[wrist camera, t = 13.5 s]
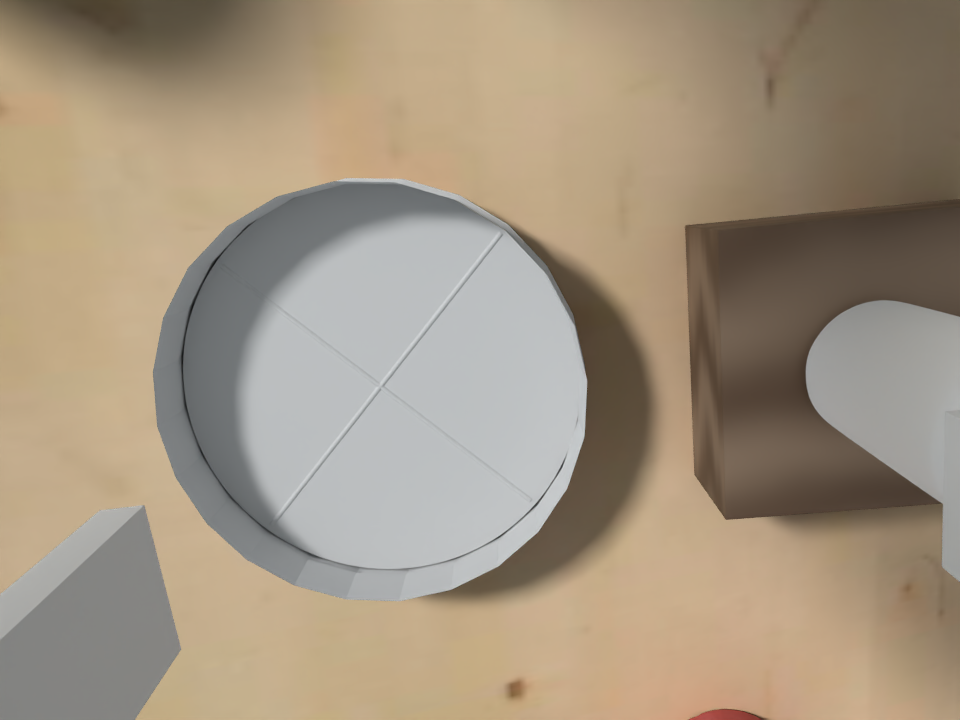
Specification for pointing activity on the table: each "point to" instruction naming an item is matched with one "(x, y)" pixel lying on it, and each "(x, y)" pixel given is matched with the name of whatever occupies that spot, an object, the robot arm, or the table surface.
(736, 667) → the table surface
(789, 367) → the walnut base
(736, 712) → the flower pot
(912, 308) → the can
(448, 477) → the dish
